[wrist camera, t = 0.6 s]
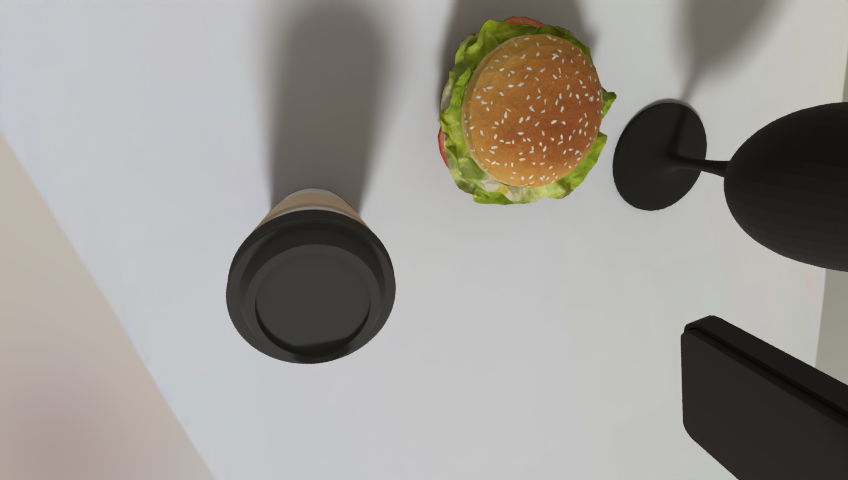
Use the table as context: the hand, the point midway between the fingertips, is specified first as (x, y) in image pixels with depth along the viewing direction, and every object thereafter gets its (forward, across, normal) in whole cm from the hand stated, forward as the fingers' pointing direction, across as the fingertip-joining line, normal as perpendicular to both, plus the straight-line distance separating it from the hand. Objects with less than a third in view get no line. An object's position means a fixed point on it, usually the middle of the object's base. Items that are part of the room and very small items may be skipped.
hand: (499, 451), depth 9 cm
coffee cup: (+29, +4, +2) cm, 29 cm away
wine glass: (+29, -29, +5) cm, 41 cm away
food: (+29, -13, -3) cm, 32 cm away
